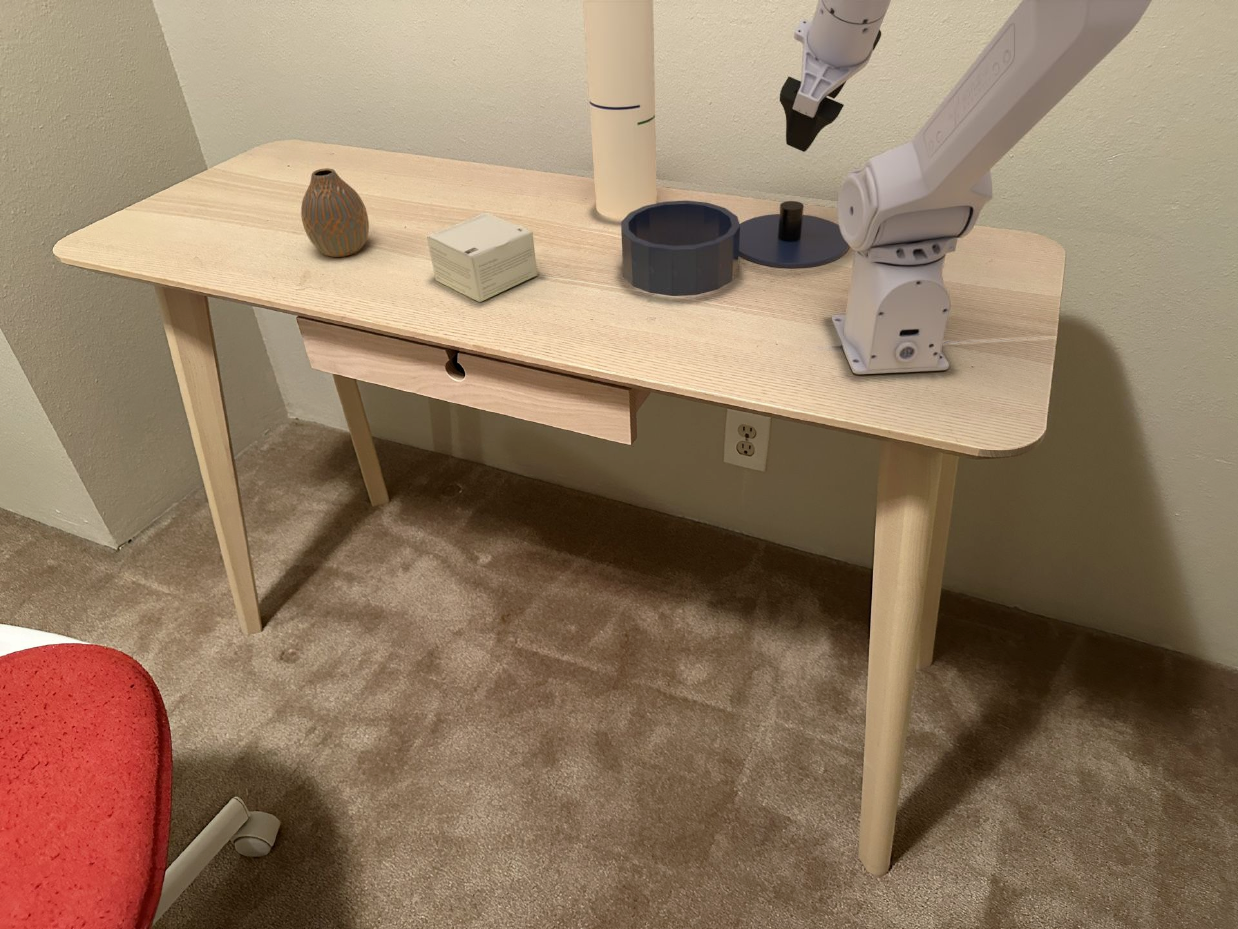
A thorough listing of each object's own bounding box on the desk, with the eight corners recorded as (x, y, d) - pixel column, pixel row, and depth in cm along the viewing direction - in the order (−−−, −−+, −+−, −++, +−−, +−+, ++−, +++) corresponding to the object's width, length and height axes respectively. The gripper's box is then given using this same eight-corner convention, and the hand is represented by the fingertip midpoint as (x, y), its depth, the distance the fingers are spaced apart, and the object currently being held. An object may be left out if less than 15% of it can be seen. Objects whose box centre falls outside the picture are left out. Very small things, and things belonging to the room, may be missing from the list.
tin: (743, 297, 83) (746, 245, 80) (624, 303, 83) (622, 251, 80) (729, 246, 92) (731, 197, 89) (622, 251, 92) (619, 203, 89)
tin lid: (861, 270, 87) (867, 227, 84) (737, 276, 87) (739, 233, 84) (834, 220, 96) (839, 179, 93) (722, 225, 96) (724, 185, 94)
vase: (300, 261, 94) (276, 182, 89) (330, 234, 99) (310, 159, 94) (357, 265, 93) (336, 185, 87) (385, 238, 98) (367, 161, 92)
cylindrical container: (589, 204, 103) (572, -33, 87) (645, 195, 104) (639, -40, 89) (606, 226, 98) (592, -22, 82) (665, 216, 99) (662, -30, 83)
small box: (492, 255, 93) (486, 210, 90) (539, 277, 89) (534, 229, 85) (433, 280, 89) (424, 234, 86) (479, 304, 84) (471, 256, 81)
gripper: (842, -71, 75) (802, 54, 87) (777, 36, 70) (745, 153, 82) (917, -41, 74) (866, 81, 86) (857, 70, 69) (812, 183, 81)
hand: (811, 118), depth 84 cm, fingers open, 7 cm apart
